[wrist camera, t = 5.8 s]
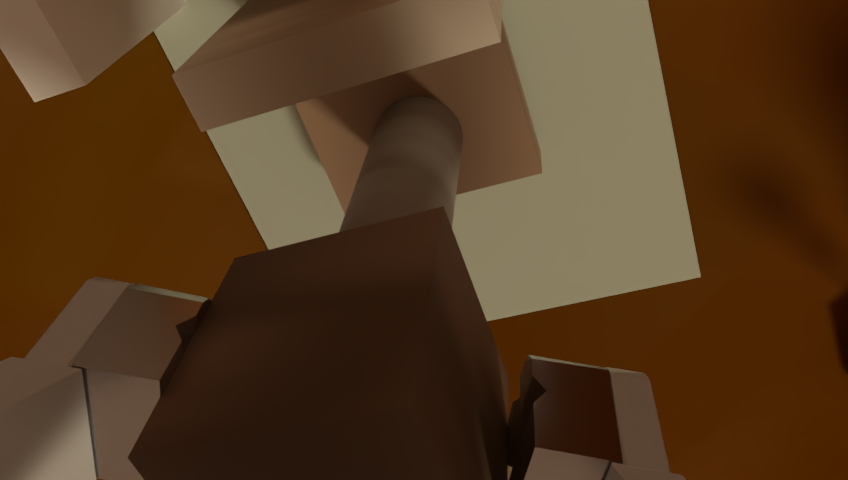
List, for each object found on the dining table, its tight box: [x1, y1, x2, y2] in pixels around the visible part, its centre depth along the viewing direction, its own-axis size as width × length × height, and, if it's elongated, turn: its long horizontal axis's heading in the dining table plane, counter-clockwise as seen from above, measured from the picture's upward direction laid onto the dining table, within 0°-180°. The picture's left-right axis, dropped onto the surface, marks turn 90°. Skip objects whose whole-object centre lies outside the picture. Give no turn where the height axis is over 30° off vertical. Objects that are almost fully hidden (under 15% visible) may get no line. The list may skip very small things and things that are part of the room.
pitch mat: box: [154, 0, 701, 321], centre depth 16 cm, size 10×15×1 cm, turn 20°
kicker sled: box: [128, 0, 542, 480], centre depth 12 cm, size 5×5×10 cm
